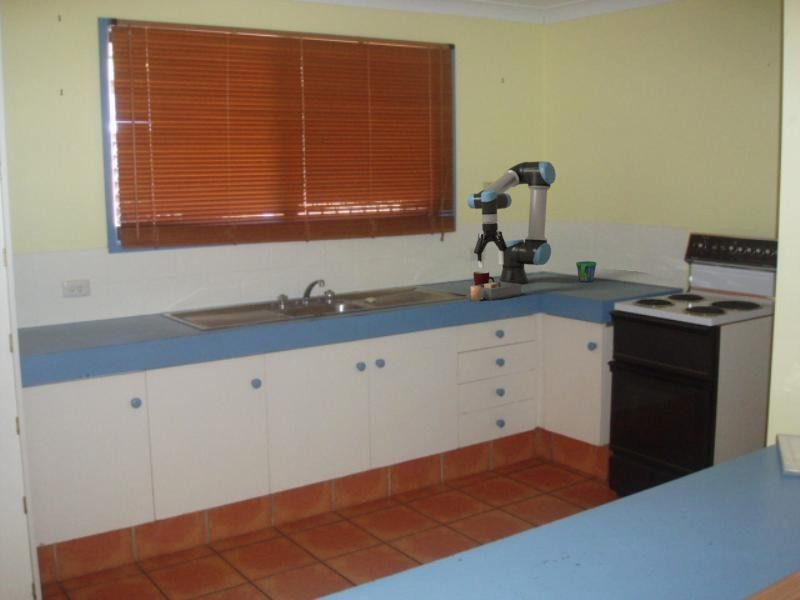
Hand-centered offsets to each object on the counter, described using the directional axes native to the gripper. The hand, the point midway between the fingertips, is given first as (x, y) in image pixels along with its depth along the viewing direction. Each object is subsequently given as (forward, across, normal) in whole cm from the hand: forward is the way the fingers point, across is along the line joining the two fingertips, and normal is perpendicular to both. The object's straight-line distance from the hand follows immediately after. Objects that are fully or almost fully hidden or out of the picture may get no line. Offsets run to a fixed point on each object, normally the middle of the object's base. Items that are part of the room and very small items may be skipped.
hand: (491, 265), depth 443 cm
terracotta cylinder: (+15, +16, +5) cm, 22 cm away
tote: (+15, 0, +3) cm, 15 cm away
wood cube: (+14, +1, 0) cm, 14 cm away
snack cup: (+16, -64, +5) cm, 66 cm away
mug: (+15, -6, -13) cm, 21 cm away
